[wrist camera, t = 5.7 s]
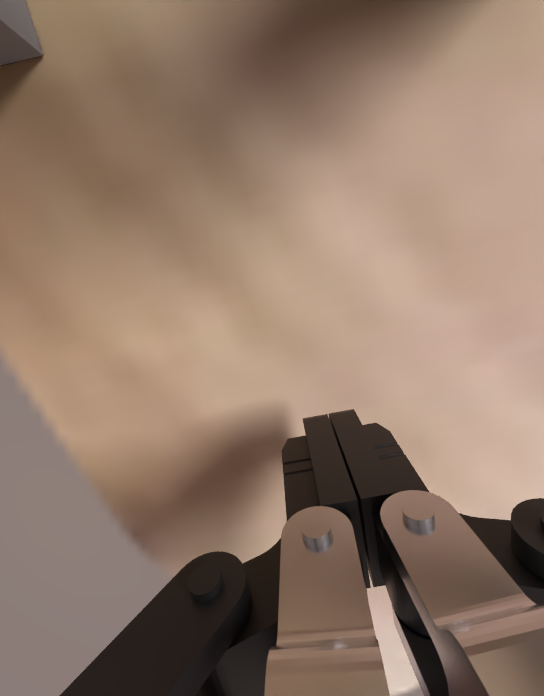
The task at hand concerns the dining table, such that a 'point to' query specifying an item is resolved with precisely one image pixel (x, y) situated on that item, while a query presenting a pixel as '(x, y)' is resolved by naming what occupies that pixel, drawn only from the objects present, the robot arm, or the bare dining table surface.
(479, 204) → the dining table surface
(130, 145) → the dining table surface
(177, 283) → the dining table surface
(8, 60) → the bridge
